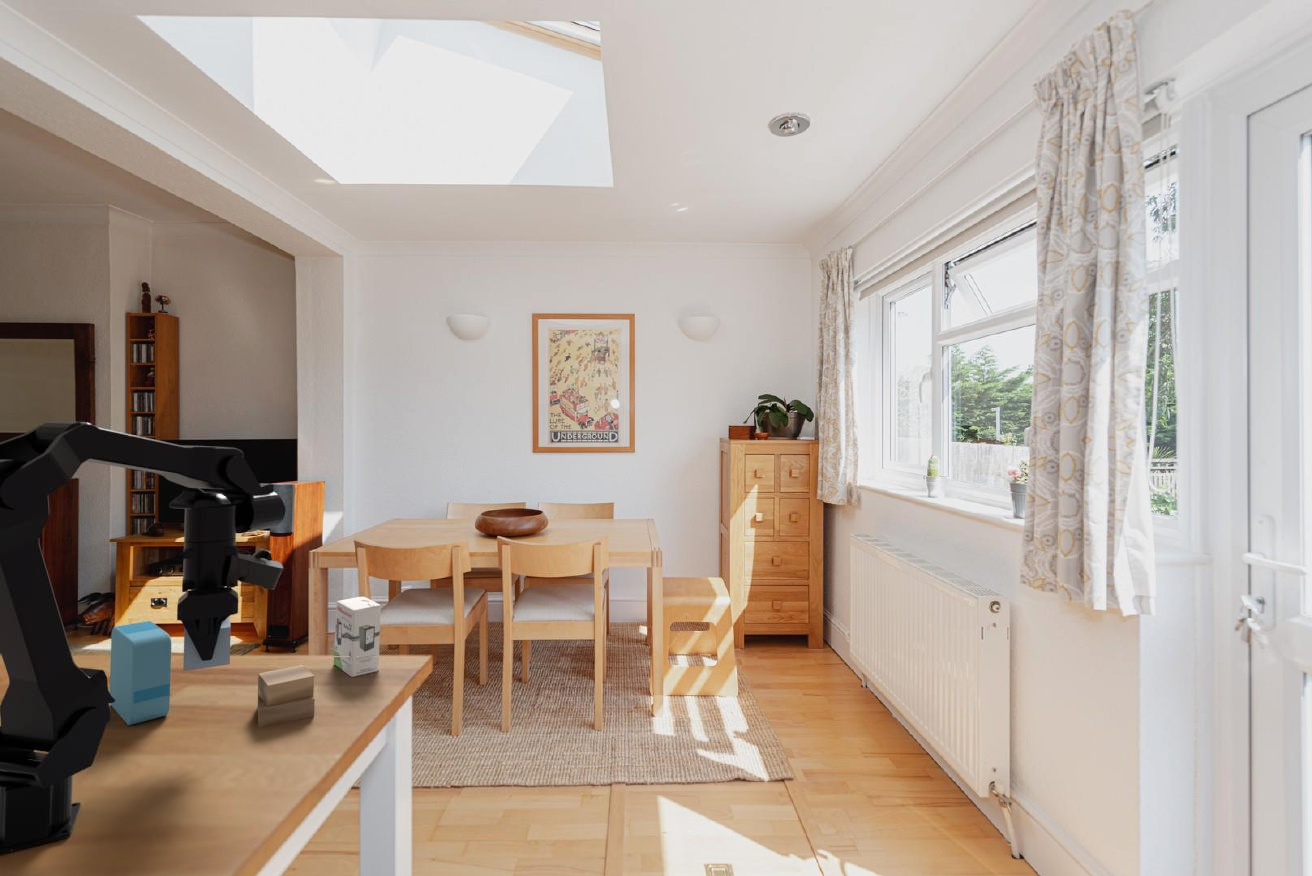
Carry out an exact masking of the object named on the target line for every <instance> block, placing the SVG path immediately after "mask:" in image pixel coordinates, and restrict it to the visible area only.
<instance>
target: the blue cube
mask: <svg viewBox="0 0 1312 876" xmlns="http://www.w3.org/2000/svg"><path fill="white" fill-rule="evenodd" d="M231 626H232V625H231V617H228V618H227V619H226V620H224V621H223V622H222V625H221V628H220V632H219V636H218V639H217V643H216V647H215V650H214V654H213V658H212V659H211V660H207V661H202V660H201V658H200V656H199V654H198V652H197V650H196V648H195V646H194V644H193V642H192V640H191V638H190V636H189V635H188V633H187V631H186V629H185V628H184V631H183V633H184V635H183V638H184V639H183V662H182V663H183V667H182V669H183V670H182V671H183V672H188V671H193V670H194V671H195V670H200V669H201V670H202V669H207V668H215V667H220V666H227V665H230V664H231V632H232V628H231Z"/></svg>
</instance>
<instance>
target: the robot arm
mask: <svg viewBox="0 0 1312 876" xmlns="http://www.w3.org/2000/svg"><path fill="white" fill-rule="evenodd" d="M85 462H86V463H87V462H88V463H93V464H98V465H99V464H101V465H106V466H113V467H117V468H118V467H119V468H124V469H130V470H131V469H132V470H137V471H142V472H147V473H148V472H149V473H153V474H158V475H160V476H161V477H162V476H163V477H164V478H165V479H166V480H167V481H170V482H171V483H172V482H173V483H174V484H177V485H180V486H184V487H185V488H190V489H184V490H183V491H182V492H181V494H179V495H178V496H177V497H175V498H174V499H173V500H172V501H171V502H169V504H168V506H169V508H171V509H179V510H180V509H184V528H183V529H184V532H183V533H184V537H183V552H182V560H183V567H182V571H183V572H182V576H183V577H182V583H181V584H182V585H181V590H182V591H181V592H182V593H183V594H182V595H181V596H180V597H179V598H178V601H177V604H176V605H177V608H176V621H181V623H182V625H183V628H184V630H185V629H186V631H187V633H188V635H189V636H190V638H191V640H192V642H193V644H194V646H195V648H196V650H197V652H198V654H199V656H200V658H201V660H202V661H207V660H211V659H212V658H213V654H214V650H215V647H216V643H217V639H218V636H219V632H220V628H221V625H222V622H223V621H224V620H226V619H227V618H230V616H234V615H237V614H238V613H239V594H238V592H237V591H236V590H235V589H233V588H236V587H238V586H239V582H242V583H246V584H250V585H253V586H254V585H255V586H259V587H262V588H263V589H264V590H265V589H266V590H272V591H273V590H275V589H276V586H277V584H278V581H279V578H280V576H281V574H282V572H283V570H284V566H283V564H282V563H281V562H279V560H273V557H272V556H273V555H272V552H271V550H266V549H263V548H259V549H257V551H255V552H254V553H253V554H249V553H247V554H244V553H240V551H239V545H238V544H237V543H236V542H237V541H236V540H237V538H236V537H237V534H239V535H240V534H246V533H250V532H256V531H261V530H267V529H272V528H275V527H277V526H279V525H280V524H281V523H282V521H283V520H284V518H285V516H286V505H285V504H284V501H283V499H282V498H281V496H280V495H279V494H278V493H276V492H275V490H274V489H275V488H274V487H275V485H274V484H273V483H260V482H259V481H258V479H257V478H256V476H255V474H254V472H253V471H252V469H251V467H250V465H249V464H248V462H247V461H246V458H245V457H244V452H243V451H242V449H239V448H236V447H231V446H205V445H182V444H178V443H172V442H166V441H162V440H158V439H153V438H148V437H144V436H140V435H134V434H131V433H127V432H121V431H117V430H114V429H113V430H112V429H108V428H103V427H99V426H97V425H93V424H92V423H90V422H86V421H68V420H67V421H66V420H65V421H64V420H63V421H62V420H50V421H47V422H43V423H42V424H39V425H38V426H36V427H34V428H32V429H31V430H28V431H26V432H24V433H23V434H21V435H17V436H14V437H11V438H9V439H7V440H3V441H1V442H0V655H1V657H2V661H3V663H4V667H5V669H6V673H7V676H8V681H9V683H8V686H7V688H6V691H5V693H4V695H3V698H2V700H1V702H0V853H2V854H5V853H4V852H6V853H10V852H12V851H11V850H14V851H17V850H21V849H26V848H30V847H33V846H37V845H42V844H46V843H49V842H54V841H58V840H62V839H66V838H68V837H70V836H71V835H72V832H73V829H74V826H75V824H76V821H77V819H78V816H79V813H80V810H81V808H82V807H81V806H82V805H81V802H77V801H76V802H72V801H73V778H74V777H73V776H74V775H76V774H79V773H80V772H82V771H84V770H87V769H88V768H90V767H92V766H93V763H94V762H95V758H96V755H97V752H98V749H99V747H100V744H101V742H102V738H103V736H104V733H105V730H106V728H107V725H109V723H110V721H111V717H112V716H111V715H112V713H111V710H112V709H111V703H114V702H115V699H114V698H113V697H112V696H111V695H110V690H109V686H108V685H109V683H108V675H107V674H106V672H105V671H104V669H98V668H97V669H96V668H89V667H79V666H78V665H77V664H76V662H75V661H74V658H73V654H72V651H71V648H70V647H71V646H70V644H69V641H68V637H67V634H66V633H67V632H66V630H65V627H64V623H63V620H62V618H61V613H60V610H59V606H58V603H57V600H56V597H55V592H54V589H53V586H52V582H51V579H50V575H49V573H48V568H47V566H46V563H45V558H44V556H43V552H42V548H41V543H40V537H41V534H42V533H43V531H44V528H45V525H46V523H47V521H48V519H49V516H50V499H49V495H50V494H52V493H53V492H55V491H57V490H58V489H60V488H61V487H62V486H65V485H66V484H67V483H69V482H70V481H71V480H72V479H73V477H74V476H75V474H76V473H77V472H78V470H79V468H80V467H81V465H82V464H84V463H85ZM9 851H10V852H9Z"/></svg>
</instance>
